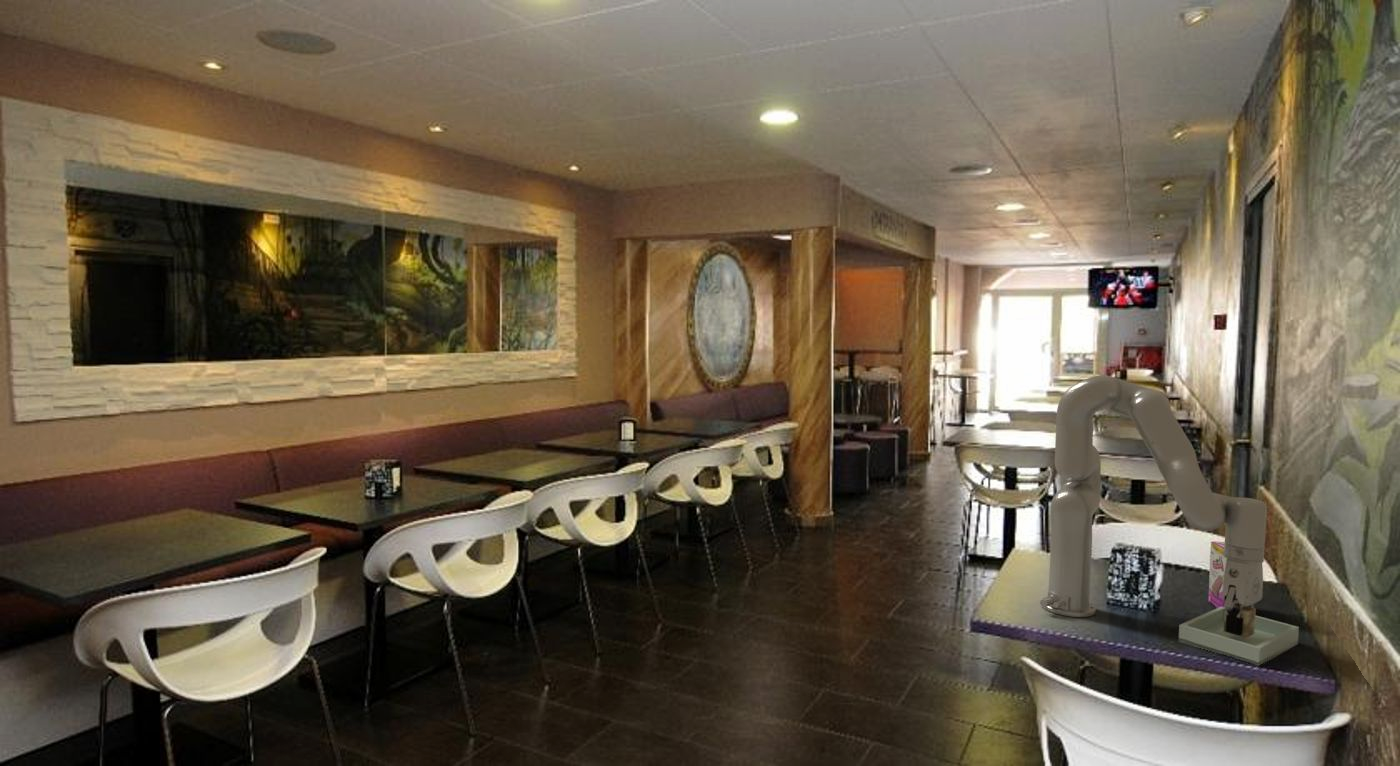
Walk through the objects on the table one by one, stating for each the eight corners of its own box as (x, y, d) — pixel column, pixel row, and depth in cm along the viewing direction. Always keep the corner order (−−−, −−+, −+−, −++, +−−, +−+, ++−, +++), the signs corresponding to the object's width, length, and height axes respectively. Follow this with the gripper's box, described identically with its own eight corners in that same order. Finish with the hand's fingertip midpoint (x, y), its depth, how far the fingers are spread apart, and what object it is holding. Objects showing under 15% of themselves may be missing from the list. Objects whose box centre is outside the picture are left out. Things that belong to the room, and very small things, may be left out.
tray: (1258, 666, 170) (1259, 648, 170) (1178, 641, 183) (1179, 624, 183) (1297, 644, 183) (1298, 627, 182) (1220, 622, 196) (1221, 606, 195)
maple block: (1245, 638, 179) (1247, 612, 179) (1223, 631, 183) (1225, 606, 183) (1254, 633, 182) (1255, 608, 182) (1231, 627, 186) (1233, 602, 185)
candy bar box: (1206, 601, 210) (1209, 540, 209) (1227, 603, 209) (1231, 542, 208) (1224, 616, 199) (1229, 552, 198) (1247, 618, 198) (1251, 553, 197)
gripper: (1247, 562, 173) (1241, 644, 175) (1277, 551, 183) (1272, 628, 184) (1209, 554, 179) (1204, 633, 181) (1240, 543, 189) (1235, 618, 190)
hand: (1238, 630), depth 183 cm, fingers closed on maple block, 4 cm apart
